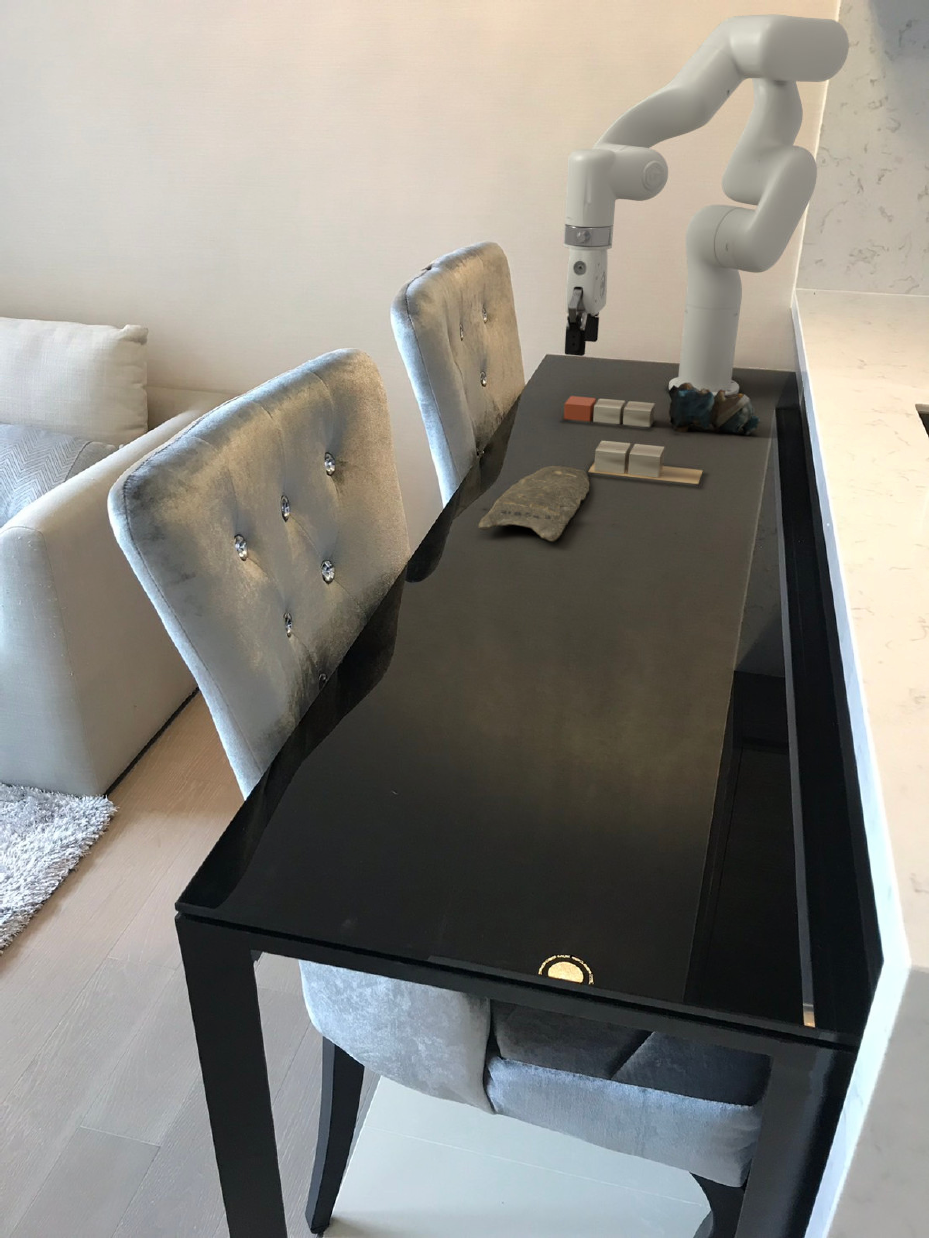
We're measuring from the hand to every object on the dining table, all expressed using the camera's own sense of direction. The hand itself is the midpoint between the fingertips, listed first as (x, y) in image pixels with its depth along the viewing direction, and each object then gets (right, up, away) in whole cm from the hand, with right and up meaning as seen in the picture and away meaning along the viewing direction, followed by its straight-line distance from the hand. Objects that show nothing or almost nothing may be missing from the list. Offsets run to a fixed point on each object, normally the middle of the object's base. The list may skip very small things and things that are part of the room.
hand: (581, 347), depth 163 cm
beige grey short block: (+5, -11, +5) cm, 13 cm away
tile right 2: (+8, -23, -17) cm, 29 cm away
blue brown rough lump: (+21, -14, 0) cm, 25 cm away
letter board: (+8, -23, -16) cm, 29 cm away
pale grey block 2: (+10, -12, +4) cm, 16 cm away
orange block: (0, -10, +6) cm, 12 cm away
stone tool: (-8, -29, -26) cm, 40 cm away
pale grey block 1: (+3, -22, -15) cm, 27 cm away
